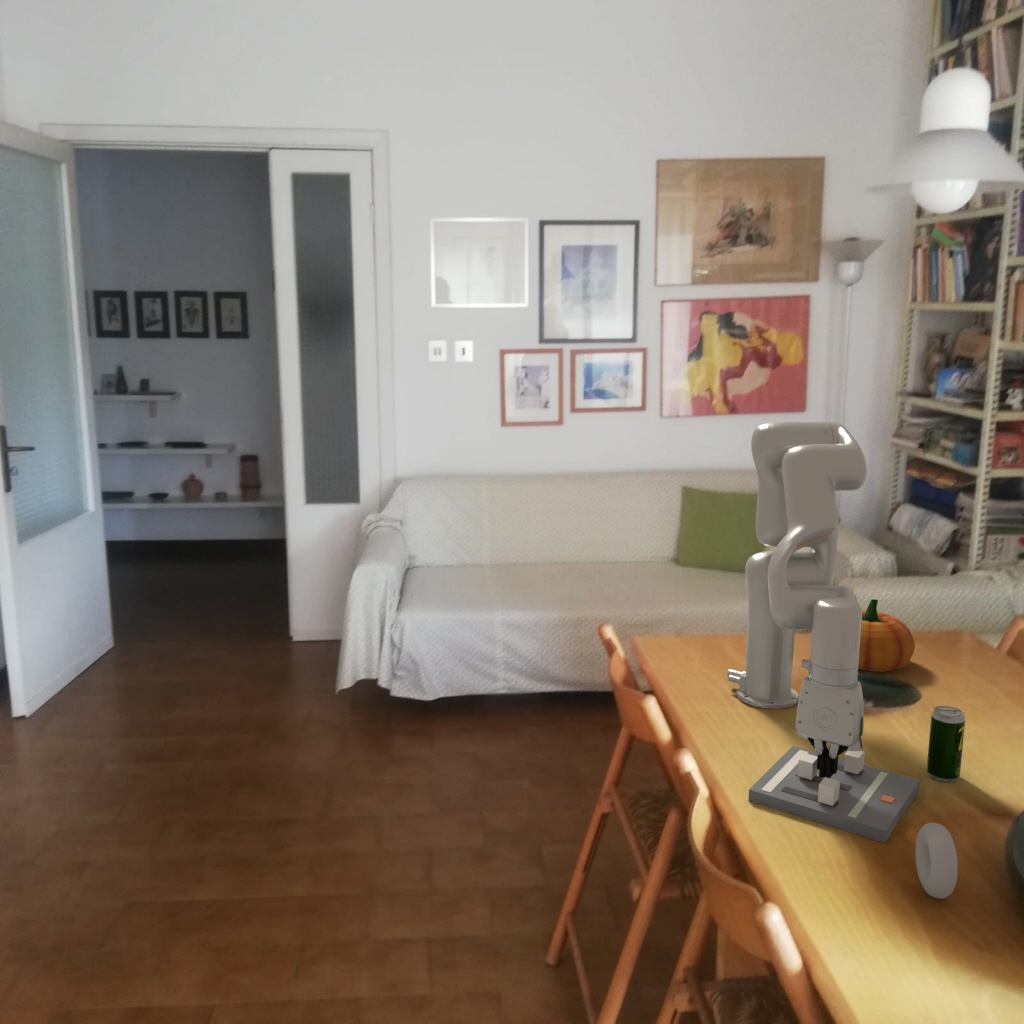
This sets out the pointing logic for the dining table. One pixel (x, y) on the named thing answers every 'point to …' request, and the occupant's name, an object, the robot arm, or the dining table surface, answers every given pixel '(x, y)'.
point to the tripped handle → (807, 766)
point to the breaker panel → (837, 817)
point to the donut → (936, 860)
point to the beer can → (945, 743)
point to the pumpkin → (883, 641)
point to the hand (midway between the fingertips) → (826, 775)
